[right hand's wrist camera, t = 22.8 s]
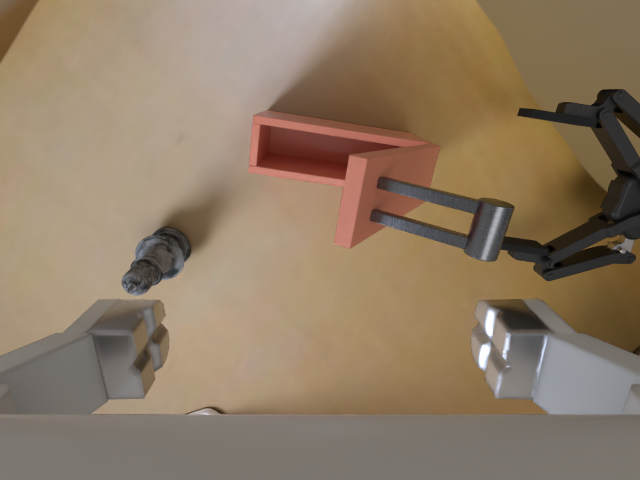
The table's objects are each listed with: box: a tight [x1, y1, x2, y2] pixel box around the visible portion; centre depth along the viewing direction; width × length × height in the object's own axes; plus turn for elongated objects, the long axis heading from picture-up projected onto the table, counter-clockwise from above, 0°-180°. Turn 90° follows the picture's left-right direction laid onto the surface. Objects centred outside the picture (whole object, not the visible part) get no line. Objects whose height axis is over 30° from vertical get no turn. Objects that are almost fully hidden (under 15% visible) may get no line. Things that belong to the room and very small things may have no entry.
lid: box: [334, 143, 514, 261], centre depth 28 cm, size 18×5×9 cm
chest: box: [249, 110, 432, 187], centre depth 42 cm, size 17×5×10 cm, turn 81°
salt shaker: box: [122, 228, 190, 295], centre depth 46 cm, size 6×6×12 cm
